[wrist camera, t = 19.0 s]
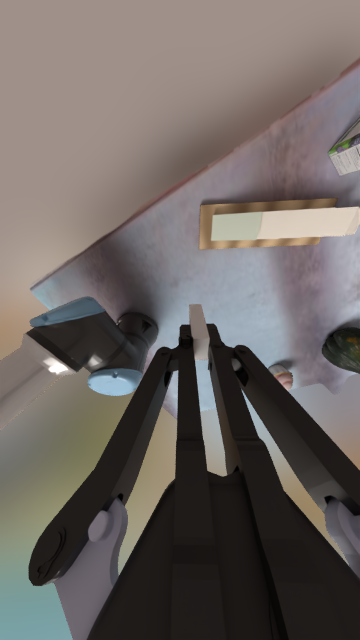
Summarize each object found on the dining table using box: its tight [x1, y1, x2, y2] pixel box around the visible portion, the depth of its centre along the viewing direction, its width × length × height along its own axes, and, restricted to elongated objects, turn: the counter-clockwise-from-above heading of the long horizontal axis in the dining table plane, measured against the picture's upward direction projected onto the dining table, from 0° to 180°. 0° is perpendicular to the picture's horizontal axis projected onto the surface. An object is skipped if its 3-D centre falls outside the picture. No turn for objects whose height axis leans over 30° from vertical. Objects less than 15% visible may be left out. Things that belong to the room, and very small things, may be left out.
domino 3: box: [280, 209, 311, 238], centre depth 32 cm, size 2×5×10 cm
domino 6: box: [345, 208, 360, 235], centre depth 33 cm, size 2×5×10 cm
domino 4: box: [301, 208, 336, 237], centre depth 32 cm, size 2×5×10 cm
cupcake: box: [268, 365, 293, 390], centre depth 60 cm, size 9×9×10 cm
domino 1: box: [211, 212, 263, 241], centre depth 32 cm, size 2×5×10 cm
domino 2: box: [257, 210, 288, 239], centre depth 32 cm, size 2×5×10 cm
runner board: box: [199, 198, 338, 249], centre depth 35 cm, size 30×9×1 cm, turn 92°
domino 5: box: [324, 207, 359, 236], centre depth 32 cm, size 2×5×10 cm
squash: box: [322, 328, 360, 374], centre depth 50 cm, size 14×15×15 cm
